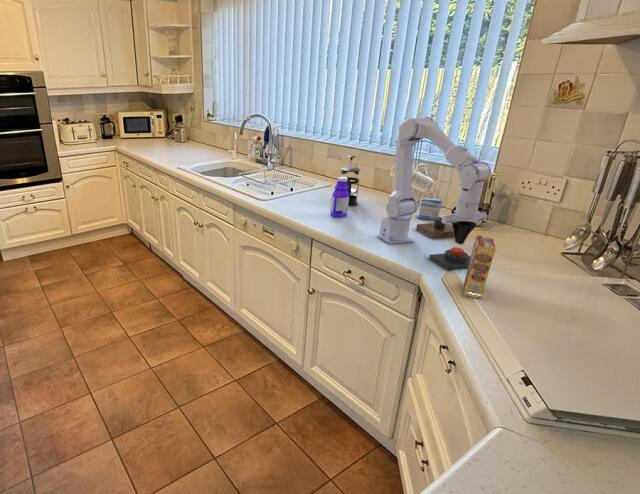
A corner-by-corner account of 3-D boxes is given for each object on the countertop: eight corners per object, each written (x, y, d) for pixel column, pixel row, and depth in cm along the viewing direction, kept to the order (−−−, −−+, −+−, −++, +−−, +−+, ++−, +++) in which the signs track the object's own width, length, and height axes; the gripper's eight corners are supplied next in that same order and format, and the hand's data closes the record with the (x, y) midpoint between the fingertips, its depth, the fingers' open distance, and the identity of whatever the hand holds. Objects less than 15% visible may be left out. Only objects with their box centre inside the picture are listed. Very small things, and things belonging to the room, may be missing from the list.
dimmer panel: (432, 239, 148) (433, 232, 147) (415, 230, 157) (416, 223, 156) (460, 236, 150) (462, 230, 149) (442, 227, 159) (443, 221, 158)
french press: (357, 206, 186) (363, 158, 178) (337, 205, 188) (341, 157, 180) (355, 200, 197) (361, 153, 188) (336, 199, 199) (340, 153, 190)
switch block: (447, 270, 123) (450, 260, 122) (428, 259, 131) (430, 249, 130) (481, 267, 125) (483, 257, 124) (460, 256, 133) (462, 246, 132)
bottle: (341, 213, 178) (345, 175, 171) (349, 217, 173) (353, 178, 166) (327, 215, 176) (331, 176, 169) (335, 219, 171) (338, 179, 164)
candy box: (482, 299, 107) (496, 248, 101) (464, 296, 109) (476, 245, 103) (480, 285, 114) (493, 237, 108) (463, 282, 116) (475, 234, 110)
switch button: (455, 257, 125) (456, 252, 125) (447, 252, 128) (448, 247, 128) (465, 256, 126) (466, 251, 125) (457, 251, 129) (458, 246, 128)
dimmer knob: (437, 229, 150) (439, 219, 149) (430, 225, 154) (432, 216, 152) (447, 228, 151) (449, 219, 149) (440, 225, 154) (441, 215, 153)
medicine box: (417, 218, 170) (421, 199, 166) (417, 215, 173) (420, 196, 170) (438, 220, 167) (442, 201, 164) (437, 217, 171) (441, 198, 167)
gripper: (456, 207, 116) (447, 249, 121) (499, 204, 118) (488, 245, 123) (440, 201, 122) (432, 241, 127) (481, 198, 125) (471, 237, 130)
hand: (459, 243), depth 126 cm, fingers closed
